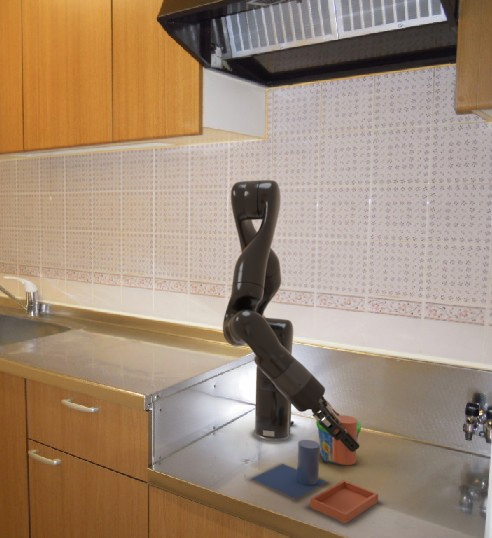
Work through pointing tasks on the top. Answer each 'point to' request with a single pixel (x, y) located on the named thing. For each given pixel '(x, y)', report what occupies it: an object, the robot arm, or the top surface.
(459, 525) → the top surface
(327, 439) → the snack cup
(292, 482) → the blue mat
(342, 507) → the terracotta tray
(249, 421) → the top surface
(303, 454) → the blue cylinder
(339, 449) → the terracotta cylinder
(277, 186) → the robot arm
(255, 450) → the top surface
